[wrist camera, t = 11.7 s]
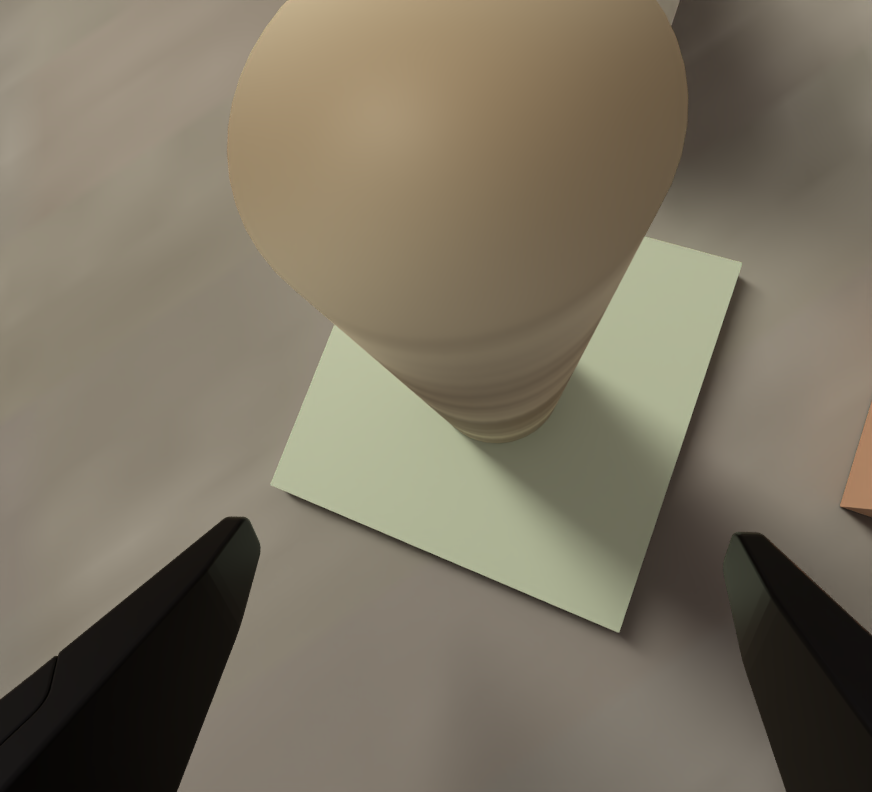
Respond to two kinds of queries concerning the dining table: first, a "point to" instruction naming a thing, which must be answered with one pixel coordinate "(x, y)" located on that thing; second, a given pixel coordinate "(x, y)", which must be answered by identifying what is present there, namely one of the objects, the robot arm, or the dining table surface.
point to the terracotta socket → (861, 474)
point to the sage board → (528, 446)
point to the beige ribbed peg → (460, 181)
